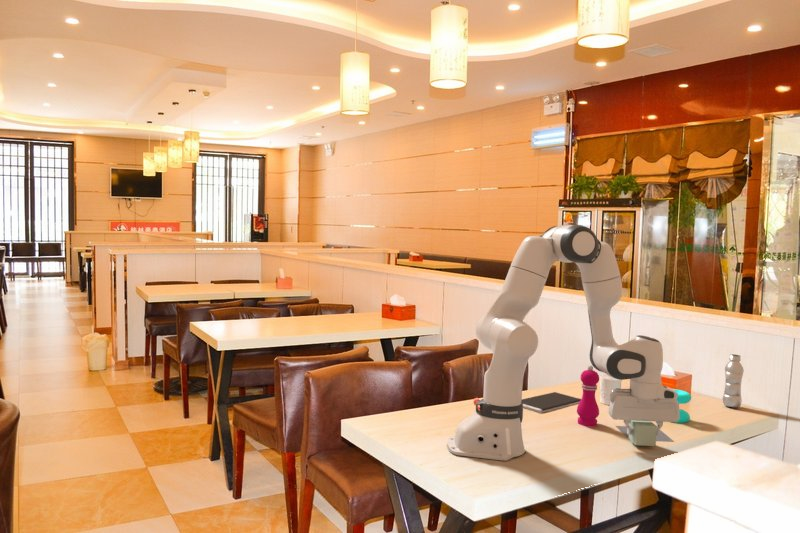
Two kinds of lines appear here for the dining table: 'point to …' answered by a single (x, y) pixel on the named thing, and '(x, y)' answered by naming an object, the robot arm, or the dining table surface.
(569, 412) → the dining table surface
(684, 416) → the donuts
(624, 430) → the mat
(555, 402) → the dark grey flat slab
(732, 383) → the plastic bottle
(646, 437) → the sage block
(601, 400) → the white cup
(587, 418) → the pepper mill
